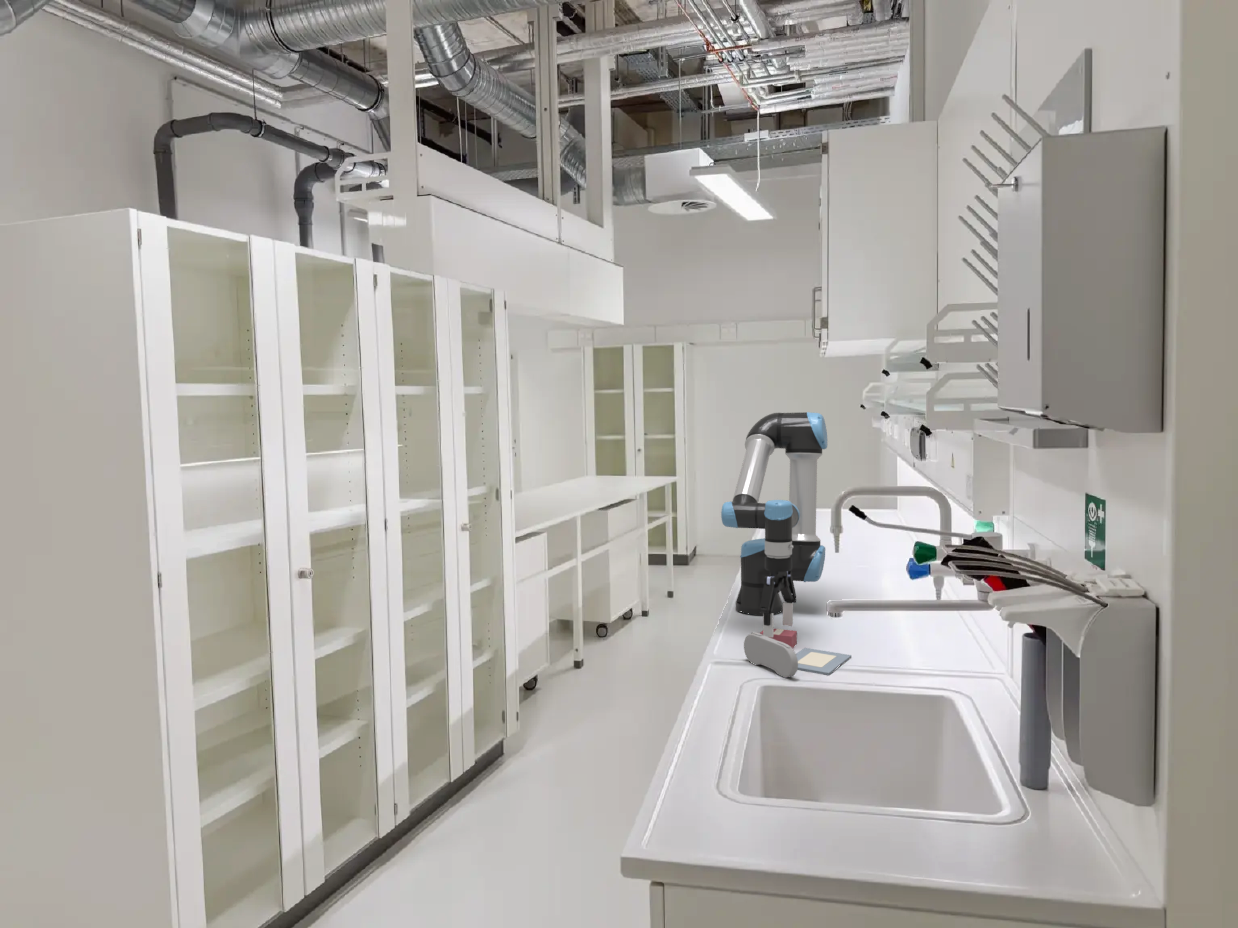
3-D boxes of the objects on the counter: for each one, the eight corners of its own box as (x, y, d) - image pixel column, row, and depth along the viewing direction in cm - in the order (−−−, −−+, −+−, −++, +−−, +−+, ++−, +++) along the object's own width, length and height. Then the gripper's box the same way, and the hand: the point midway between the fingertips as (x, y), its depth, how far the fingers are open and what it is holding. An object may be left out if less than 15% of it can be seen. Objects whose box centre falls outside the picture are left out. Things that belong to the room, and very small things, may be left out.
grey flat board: (804, 649, 228) (804, 647, 228) (851, 657, 221) (851, 654, 221) (780, 666, 214) (780, 664, 214) (828, 675, 207) (828, 672, 207)
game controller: (799, 680, 204) (799, 647, 203) (791, 681, 203) (791, 648, 202) (750, 659, 221) (750, 628, 220) (743, 660, 220) (743, 629, 219)
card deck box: (765, 641, 238) (765, 627, 237) (796, 644, 234) (796, 630, 234) (759, 647, 232) (759, 632, 232) (791, 650, 228) (791, 636, 228)
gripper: (772, 564, 219) (772, 643, 220) (807, 550, 239) (807, 622, 241) (746, 561, 223) (746, 639, 224) (783, 548, 244) (783, 619, 245)
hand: (778, 630), depth 233 cm, fingers open, 13 cm apart
